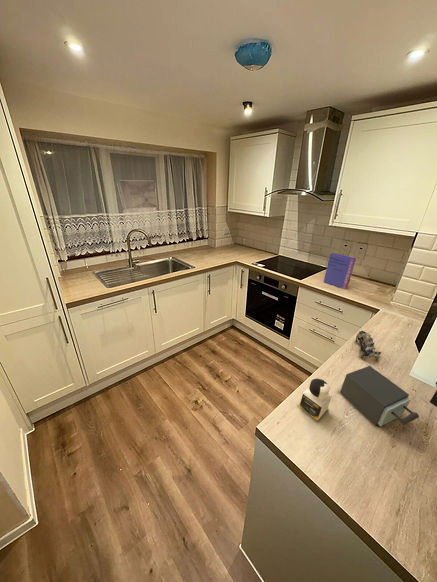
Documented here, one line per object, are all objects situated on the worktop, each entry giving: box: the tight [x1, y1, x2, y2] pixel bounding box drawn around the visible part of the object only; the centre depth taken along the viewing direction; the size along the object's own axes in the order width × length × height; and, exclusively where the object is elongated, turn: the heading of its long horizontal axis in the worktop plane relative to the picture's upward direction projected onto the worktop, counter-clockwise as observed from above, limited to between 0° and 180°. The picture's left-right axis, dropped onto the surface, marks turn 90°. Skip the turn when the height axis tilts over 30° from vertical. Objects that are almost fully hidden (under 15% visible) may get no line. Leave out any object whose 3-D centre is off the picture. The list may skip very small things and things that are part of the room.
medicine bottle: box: [299, 378, 332, 421], centre depth 82 cm, size 7×7×12 cm
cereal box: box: [323, 252, 357, 290], centre depth 183 cm, size 17×5×24 cm, turn 42°
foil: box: [355, 330, 382, 362], centre depth 113 cm, size 12×11×15 cm
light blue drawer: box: [377, 396, 420, 427], centre depth 82 cm, size 18×11×8 cm, turn 23°
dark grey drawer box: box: [339, 365, 410, 426], centre depth 85 cm, size 15×13×10 cm
